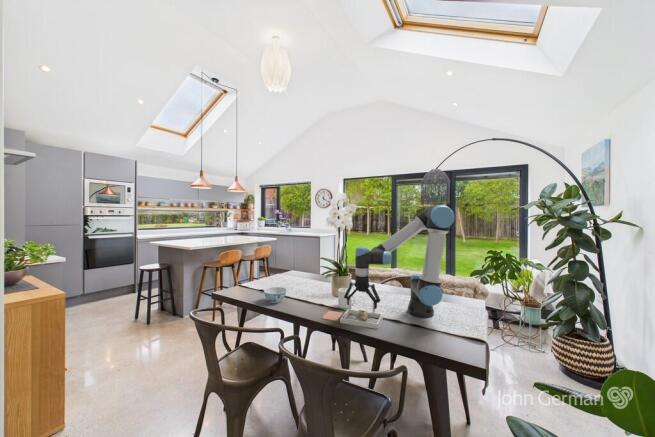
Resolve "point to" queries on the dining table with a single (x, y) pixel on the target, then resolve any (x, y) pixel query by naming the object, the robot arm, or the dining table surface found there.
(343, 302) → the mug
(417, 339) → the dining table surface
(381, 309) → the dining table surface
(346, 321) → the bin
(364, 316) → the beige round lump
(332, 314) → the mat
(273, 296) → the chinaware
